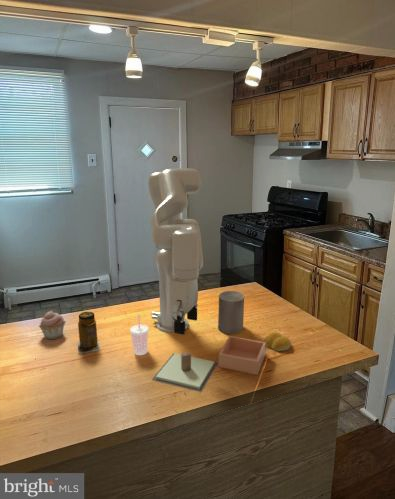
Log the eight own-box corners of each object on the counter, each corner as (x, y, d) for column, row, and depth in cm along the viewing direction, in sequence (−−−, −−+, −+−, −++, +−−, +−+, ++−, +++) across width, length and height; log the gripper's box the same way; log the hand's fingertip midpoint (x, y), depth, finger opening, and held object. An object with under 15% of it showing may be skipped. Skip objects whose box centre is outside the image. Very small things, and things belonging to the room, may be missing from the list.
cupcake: (72, 334, 140) (69, 309, 138) (49, 344, 133) (46, 318, 130) (57, 327, 146) (54, 303, 143) (35, 336, 138) (32, 311, 136)
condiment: (98, 339, 137) (95, 309, 133) (100, 350, 129) (98, 319, 126) (77, 342, 134) (74, 311, 131) (78, 354, 127) (75, 322, 123)
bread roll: (281, 354, 127) (281, 344, 126) (260, 344, 134) (261, 334, 133) (295, 346, 132) (296, 336, 131) (275, 336, 139) (275, 327, 138)
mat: (151, 381, 112) (151, 379, 112) (173, 354, 127) (173, 353, 127) (201, 393, 107) (201, 392, 107) (218, 363, 121) (218, 362, 121)
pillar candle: (217, 322, 150) (218, 287, 146) (242, 322, 149) (243, 287, 145) (218, 334, 140) (218, 297, 136) (244, 334, 140) (245, 297, 136)
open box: (218, 368, 119) (218, 354, 118) (229, 348, 130) (229, 335, 129) (257, 376, 115) (258, 362, 113) (265, 355, 126) (266, 342, 125)
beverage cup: (147, 346, 132) (146, 310, 128) (151, 355, 126) (149, 317, 122) (130, 349, 130) (128, 312, 126) (132, 358, 124) (130, 320, 120)
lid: (155, 378, 113) (155, 361, 111) (174, 355, 125) (174, 339, 124) (199, 389, 108) (199, 371, 106) (214, 363, 121) (214, 347, 119)
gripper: (185, 262, 117) (185, 313, 121) (160, 280, 101) (162, 337, 106) (207, 265, 114) (207, 316, 119) (186, 283, 99) (186, 341, 103)
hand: (186, 326), depth 112 cm, fingers open, 9 cm apart
